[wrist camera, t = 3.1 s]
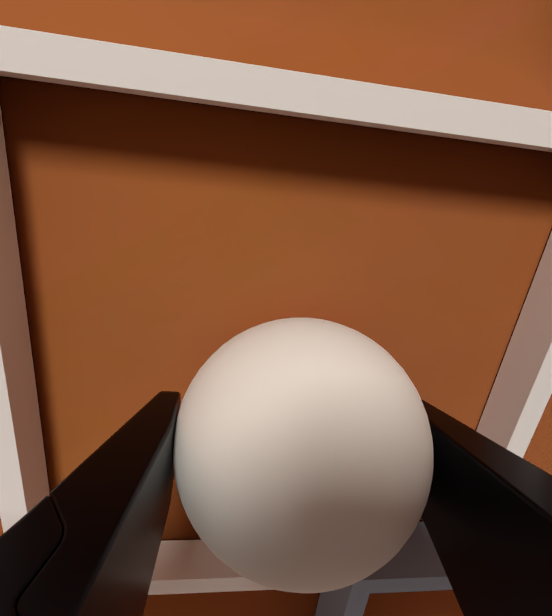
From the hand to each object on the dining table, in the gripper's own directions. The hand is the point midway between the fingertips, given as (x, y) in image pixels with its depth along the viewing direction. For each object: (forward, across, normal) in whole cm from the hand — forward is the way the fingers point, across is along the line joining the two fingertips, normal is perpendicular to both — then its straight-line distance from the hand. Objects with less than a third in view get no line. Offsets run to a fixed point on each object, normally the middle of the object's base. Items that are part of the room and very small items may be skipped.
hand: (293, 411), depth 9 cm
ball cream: (+2, 0, 0) cm, 2 cm away
